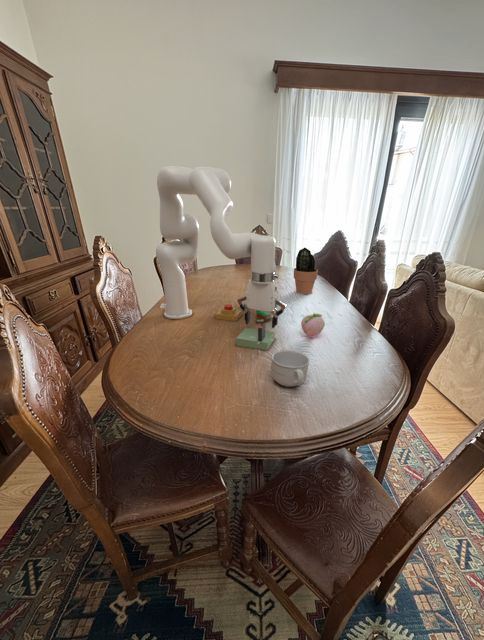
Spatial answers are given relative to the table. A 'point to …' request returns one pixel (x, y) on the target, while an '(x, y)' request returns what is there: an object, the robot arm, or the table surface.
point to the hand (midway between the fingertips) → (260, 324)
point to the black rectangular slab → (261, 332)
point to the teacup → (289, 367)
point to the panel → (255, 339)
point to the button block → (228, 314)
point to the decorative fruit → (312, 324)
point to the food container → (262, 316)
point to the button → (228, 307)
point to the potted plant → (305, 272)
